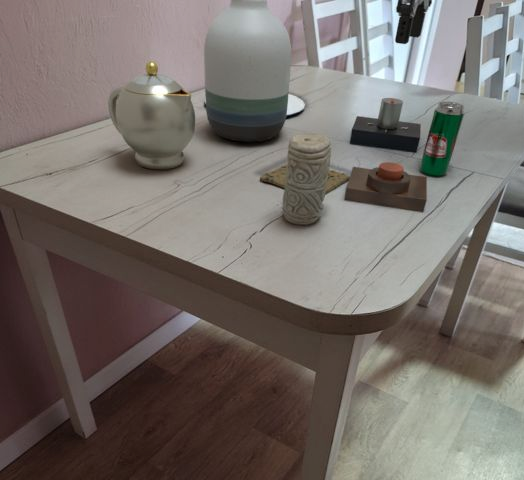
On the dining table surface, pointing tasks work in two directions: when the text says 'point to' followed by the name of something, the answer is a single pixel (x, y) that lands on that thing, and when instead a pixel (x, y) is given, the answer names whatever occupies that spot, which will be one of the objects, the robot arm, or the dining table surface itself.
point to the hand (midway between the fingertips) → (407, 40)
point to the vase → (247, 72)
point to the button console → (387, 190)
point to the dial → (389, 113)
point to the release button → (390, 171)
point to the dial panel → (385, 135)
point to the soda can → (441, 138)
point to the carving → (306, 178)
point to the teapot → (153, 118)
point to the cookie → (280, 174)
